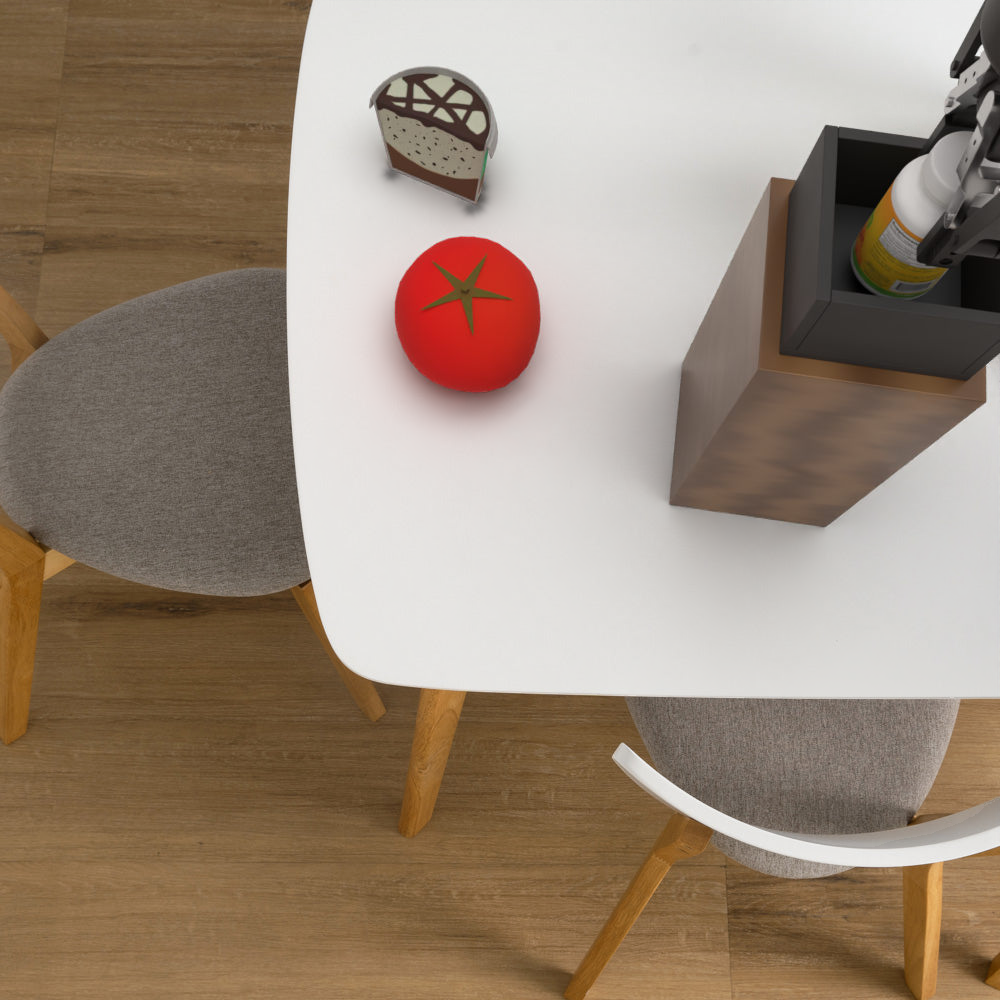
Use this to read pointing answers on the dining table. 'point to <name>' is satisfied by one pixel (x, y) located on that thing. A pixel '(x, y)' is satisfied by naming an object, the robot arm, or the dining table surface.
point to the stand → (792, 402)
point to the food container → (437, 128)
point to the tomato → (468, 314)
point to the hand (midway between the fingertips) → (934, 211)
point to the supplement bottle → (911, 222)
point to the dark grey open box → (845, 301)
